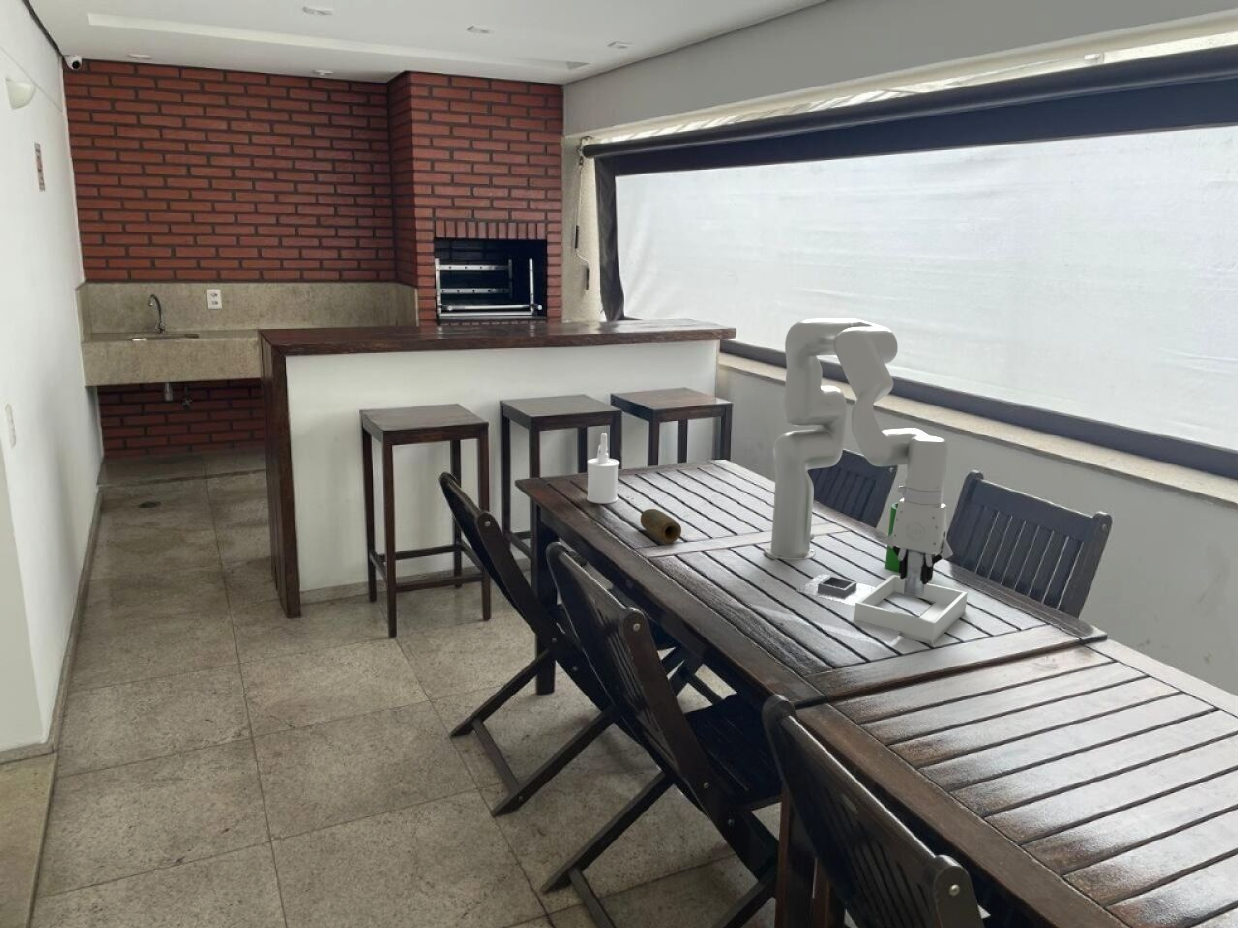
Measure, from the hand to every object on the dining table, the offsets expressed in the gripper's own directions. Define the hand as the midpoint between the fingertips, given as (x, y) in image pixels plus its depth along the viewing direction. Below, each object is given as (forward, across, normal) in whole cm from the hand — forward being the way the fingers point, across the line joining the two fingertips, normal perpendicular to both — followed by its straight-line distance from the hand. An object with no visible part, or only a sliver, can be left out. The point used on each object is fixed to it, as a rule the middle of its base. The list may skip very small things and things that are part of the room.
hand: (915, 579), depth 203 cm
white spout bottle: (+8, -104, +30) cm, 109 cm away
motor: (+9, -11, +28) cm, 31 cm away
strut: (+3, 0, 0) cm, 3 cm away
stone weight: (+8, -71, +12) cm, 73 cm away
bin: (+9, 0, 0) cm, 9 cm away
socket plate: (+8, -18, +3) cm, 20 cm away
